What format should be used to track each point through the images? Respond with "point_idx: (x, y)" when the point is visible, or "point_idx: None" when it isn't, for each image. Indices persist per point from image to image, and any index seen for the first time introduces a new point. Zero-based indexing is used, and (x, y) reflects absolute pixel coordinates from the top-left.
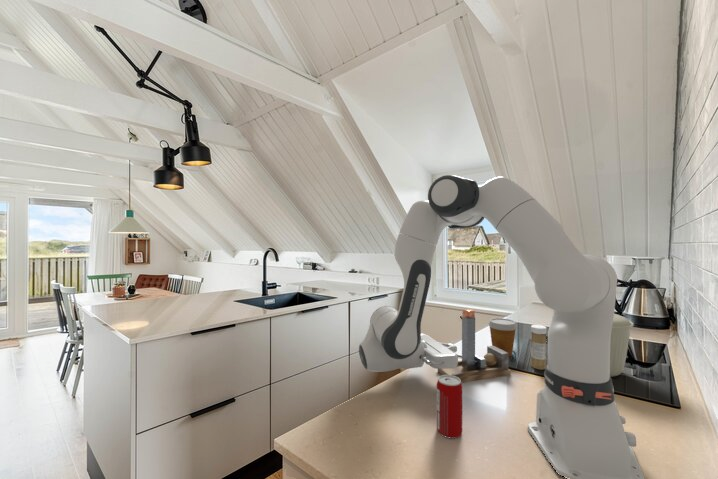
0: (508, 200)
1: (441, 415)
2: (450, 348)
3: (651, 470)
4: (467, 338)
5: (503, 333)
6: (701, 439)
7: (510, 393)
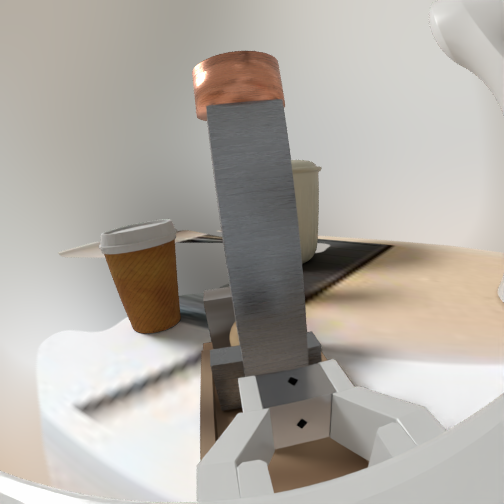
0: None
1: None
2: (386, 405)
3: None
4: (300, 260)
5: (165, 253)
6: (458, 248)
7: (434, 356)
